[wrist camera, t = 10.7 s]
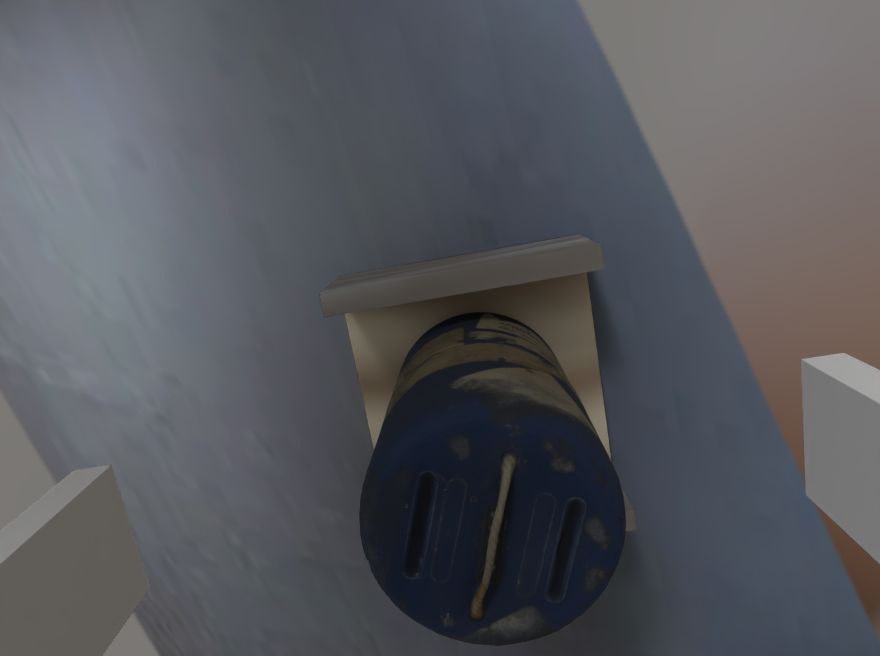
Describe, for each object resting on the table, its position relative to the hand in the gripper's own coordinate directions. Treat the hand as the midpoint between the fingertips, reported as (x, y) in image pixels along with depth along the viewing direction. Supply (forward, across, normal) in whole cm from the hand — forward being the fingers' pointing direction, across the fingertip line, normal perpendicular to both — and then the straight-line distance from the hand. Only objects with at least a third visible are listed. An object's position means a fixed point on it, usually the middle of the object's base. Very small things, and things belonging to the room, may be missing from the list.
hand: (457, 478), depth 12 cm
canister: (+25, 0, -7) cm, 26 cm away
